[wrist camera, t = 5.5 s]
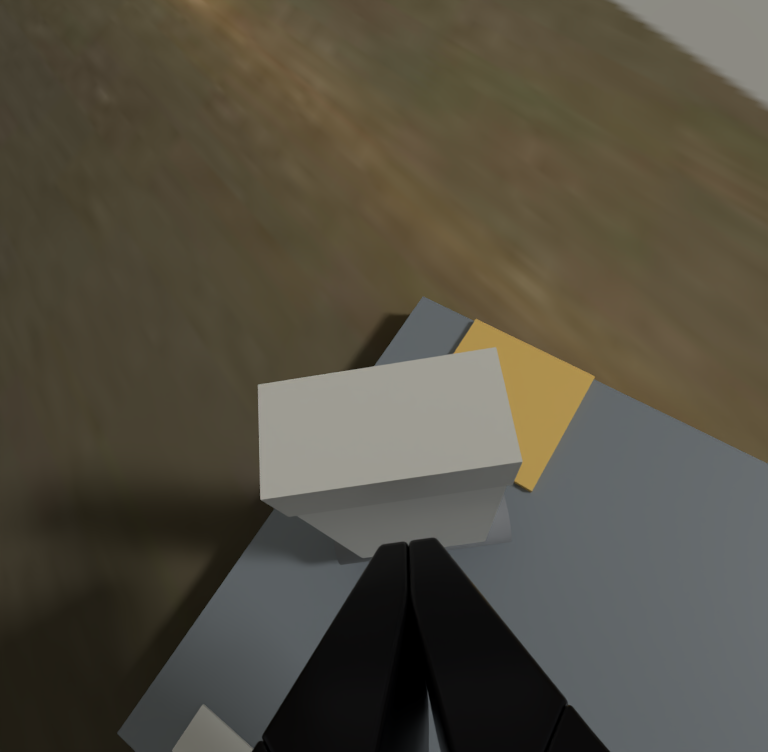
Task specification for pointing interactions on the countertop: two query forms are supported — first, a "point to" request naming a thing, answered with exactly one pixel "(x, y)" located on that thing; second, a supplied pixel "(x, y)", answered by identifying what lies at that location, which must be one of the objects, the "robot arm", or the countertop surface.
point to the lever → (393, 453)
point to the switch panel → (530, 575)
